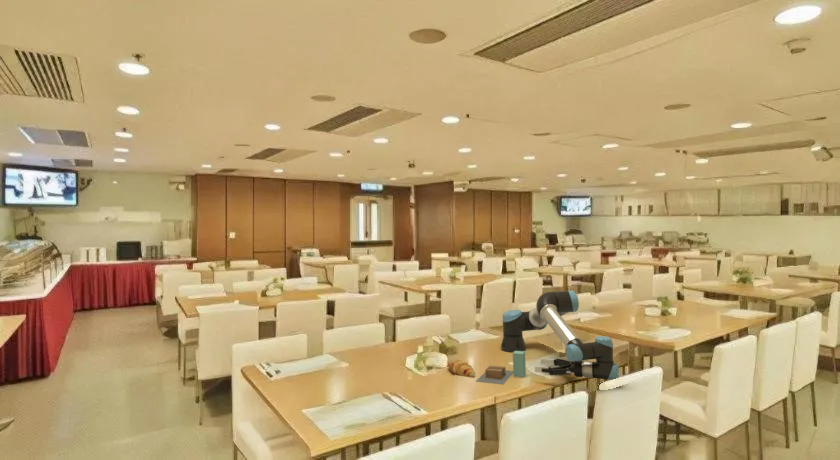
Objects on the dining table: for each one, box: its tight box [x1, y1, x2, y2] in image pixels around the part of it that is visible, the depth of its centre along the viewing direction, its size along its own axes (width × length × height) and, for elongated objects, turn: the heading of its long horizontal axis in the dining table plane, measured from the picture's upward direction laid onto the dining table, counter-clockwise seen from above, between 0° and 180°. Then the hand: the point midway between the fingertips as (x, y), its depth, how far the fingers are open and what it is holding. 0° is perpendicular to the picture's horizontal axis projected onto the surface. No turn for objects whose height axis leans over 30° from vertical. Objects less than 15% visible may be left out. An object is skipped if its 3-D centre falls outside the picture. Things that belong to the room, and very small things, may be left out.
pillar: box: [512, 350, 527, 378], centre depth 233 cm, size 5×5×12 cm
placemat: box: [475, 369, 514, 385], centre depth 233 cm, size 22×14×1 cm, turn 154°
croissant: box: [447, 359, 476, 378], centre depth 241 cm, size 21×10×8 cm, turn 35°
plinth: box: [484, 365, 506, 379], centre depth 233 cm, size 8×8×4 cm
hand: (537, 365), depth 228 cm, fingers open, 13 cm apart
